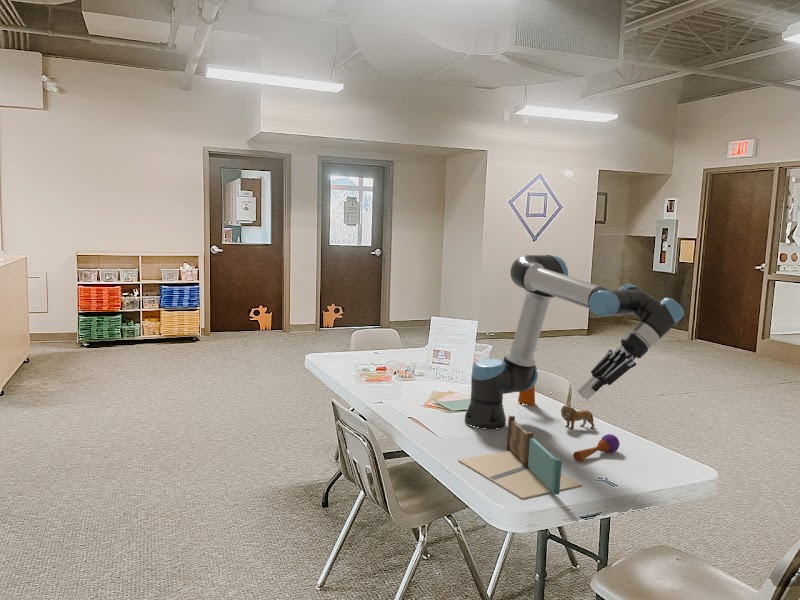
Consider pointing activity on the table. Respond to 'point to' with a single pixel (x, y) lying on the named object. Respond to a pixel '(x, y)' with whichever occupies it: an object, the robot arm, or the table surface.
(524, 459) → the fence frame
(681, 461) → the table surface
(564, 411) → the lion figurine
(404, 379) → the table surface
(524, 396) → the spray bottle
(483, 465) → the mat
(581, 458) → the purple and orange maraca
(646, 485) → the table surface
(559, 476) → the fence gate
